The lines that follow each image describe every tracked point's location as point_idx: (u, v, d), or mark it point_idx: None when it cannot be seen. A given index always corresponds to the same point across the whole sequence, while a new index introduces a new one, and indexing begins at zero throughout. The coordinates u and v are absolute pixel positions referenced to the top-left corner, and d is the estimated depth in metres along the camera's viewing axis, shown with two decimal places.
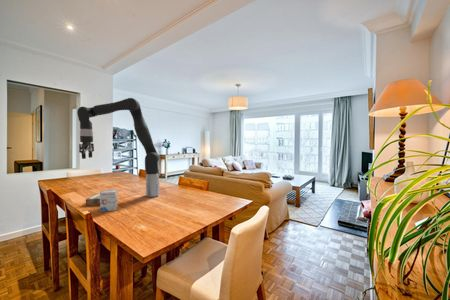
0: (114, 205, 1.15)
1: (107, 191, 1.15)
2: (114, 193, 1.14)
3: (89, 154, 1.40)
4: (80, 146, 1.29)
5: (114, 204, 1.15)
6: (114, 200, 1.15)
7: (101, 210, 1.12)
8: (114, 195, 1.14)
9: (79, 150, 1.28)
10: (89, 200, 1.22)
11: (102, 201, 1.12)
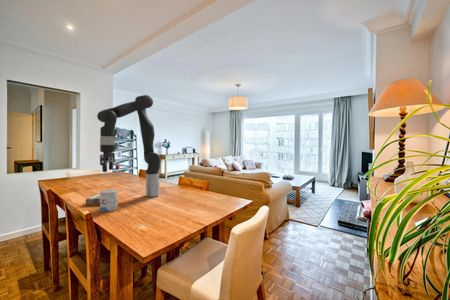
0: (114, 205, 1.15)
1: (107, 191, 1.15)
2: (114, 193, 1.14)
3: (110, 166, 1.18)
4: (101, 157, 1.07)
5: (114, 204, 1.15)
6: (114, 200, 1.15)
7: (101, 210, 1.12)
8: (114, 195, 1.14)
9: (100, 162, 1.07)
10: (89, 200, 1.22)
11: (102, 201, 1.12)
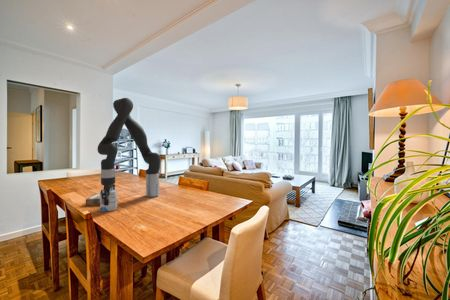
0: (114, 205, 1.15)
1: None
2: (114, 193, 1.14)
3: None
4: (102, 193, 1.09)
5: (114, 204, 1.15)
6: (114, 200, 1.15)
7: (101, 210, 1.12)
8: (114, 195, 1.14)
9: None
10: (89, 200, 1.22)
11: (102, 201, 1.12)
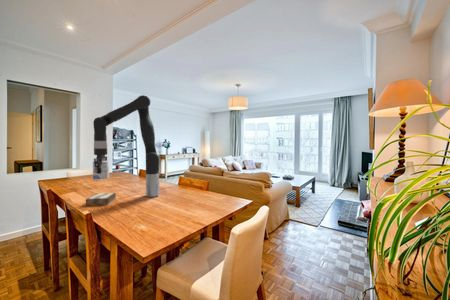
0: (106, 174, 1.27)
1: None
2: (106, 163, 1.26)
3: None
4: (95, 161, 1.20)
5: (106, 173, 1.27)
6: (106, 169, 1.26)
7: (94, 178, 1.24)
8: (106, 165, 1.26)
9: None
10: (89, 200, 1.22)
11: (95, 169, 1.24)
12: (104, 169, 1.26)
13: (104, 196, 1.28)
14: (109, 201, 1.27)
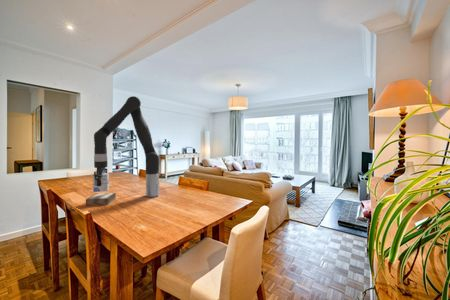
0: (106, 186, 1.28)
1: None
2: (106, 175, 1.28)
3: None
4: (95, 174, 1.22)
5: (106, 185, 1.28)
6: (106, 182, 1.28)
7: (94, 190, 1.26)
8: (106, 177, 1.28)
9: None
10: (89, 200, 1.22)
11: (95, 182, 1.26)
12: (104, 182, 1.27)
13: (104, 196, 1.28)
14: (109, 201, 1.27)
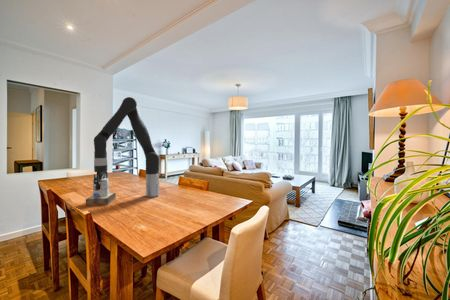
0: (106, 191, 1.28)
1: None
2: (106, 181, 1.27)
3: None
4: (95, 177, 1.22)
5: (106, 191, 1.28)
6: (106, 187, 1.28)
7: (94, 196, 1.26)
8: (106, 182, 1.27)
9: (94, 181, 1.22)
10: (89, 200, 1.22)
11: (95, 187, 1.26)
12: (104, 187, 1.27)
13: None
14: (109, 201, 1.27)
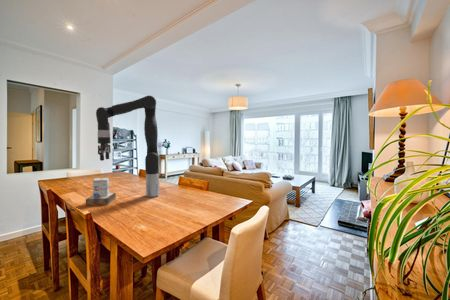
0: (106, 191, 1.28)
1: (100, 179, 1.28)
2: (106, 181, 1.27)
3: (106, 156, 1.37)
4: (99, 148, 1.26)
5: (106, 191, 1.28)
6: (106, 187, 1.28)
7: (94, 196, 1.26)
8: (106, 182, 1.27)
9: (98, 152, 1.26)
10: (89, 200, 1.22)
11: (95, 187, 1.26)
12: (104, 187, 1.27)
13: None
14: (109, 201, 1.27)
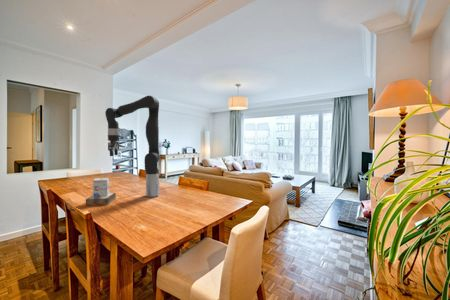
0: (106, 191, 1.28)
1: (100, 179, 1.28)
2: (106, 181, 1.27)
3: (115, 152, 1.50)
4: (109, 144, 1.39)
5: (106, 191, 1.28)
6: (106, 187, 1.28)
7: (94, 196, 1.26)
8: (106, 182, 1.27)
9: (108, 148, 1.39)
10: (89, 200, 1.22)
11: (95, 187, 1.26)
12: (104, 187, 1.27)
13: None
14: (109, 201, 1.27)
